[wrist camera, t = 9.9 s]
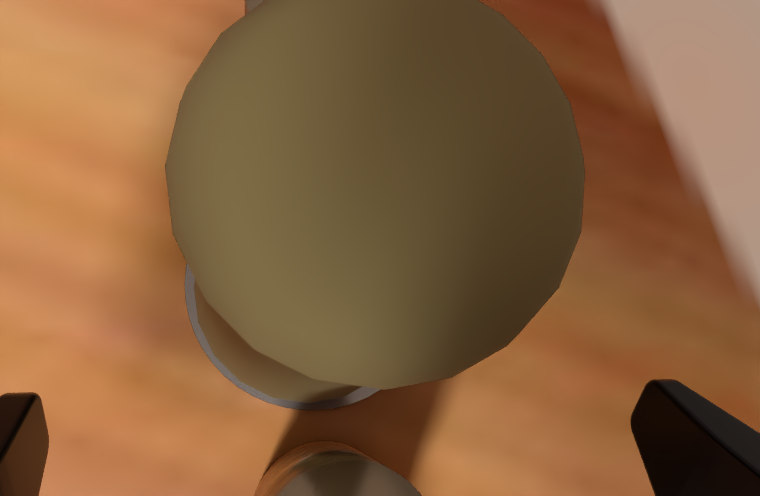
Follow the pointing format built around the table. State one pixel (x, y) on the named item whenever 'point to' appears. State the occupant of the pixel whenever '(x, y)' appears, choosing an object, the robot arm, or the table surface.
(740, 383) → the table surface
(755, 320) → the table surface
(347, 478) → the hinge frame
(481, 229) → the olive rounded piece
